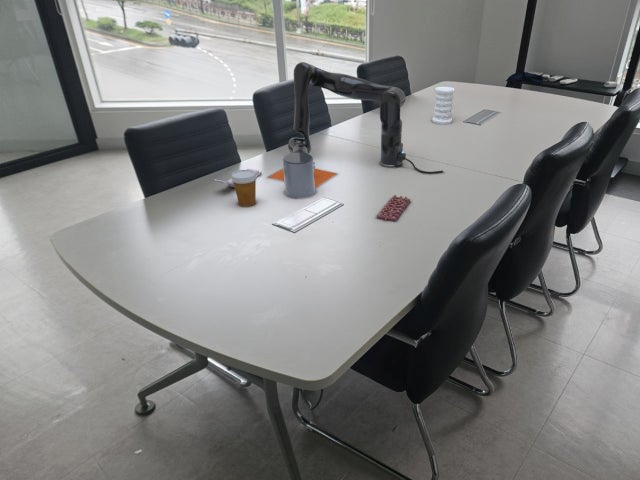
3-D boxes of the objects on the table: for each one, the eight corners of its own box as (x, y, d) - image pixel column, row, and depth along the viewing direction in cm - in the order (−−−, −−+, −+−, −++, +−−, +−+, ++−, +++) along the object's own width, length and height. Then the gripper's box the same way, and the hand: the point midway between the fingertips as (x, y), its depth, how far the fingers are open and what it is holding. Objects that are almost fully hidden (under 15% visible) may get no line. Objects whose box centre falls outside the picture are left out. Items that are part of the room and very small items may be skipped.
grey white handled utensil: (213, 179, 202) (250, 159, 221) (215, 193, 205) (251, 172, 224) (225, 182, 200) (262, 161, 219) (227, 196, 203) (263, 174, 222)
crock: (321, 190, 208) (319, 156, 200) (302, 200, 200) (300, 165, 192) (298, 183, 214) (295, 150, 205) (279, 193, 205) (275, 159, 197)
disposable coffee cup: (264, 200, 200) (260, 171, 193) (251, 209, 192) (247, 180, 186) (243, 196, 202) (239, 168, 196) (229, 206, 195) (225, 176, 188)
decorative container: (453, 124, 289) (456, 91, 279) (433, 123, 289) (435, 91, 279) (450, 118, 299) (454, 86, 289) (431, 118, 299) (433, 86, 289)
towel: (337, 174, 224) (337, 173, 224) (314, 188, 210) (314, 187, 210) (292, 164, 233) (292, 163, 233) (268, 177, 219) (268, 176, 219)
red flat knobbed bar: (376, 218, 187) (376, 214, 186) (392, 199, 202) (392, 194, 201) (394, 222, 185) (395, 217, 184) (410, 201, 200) (410, 197, 199)
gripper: (284, 150, 220) (283, 164, 206) (314, 149, 222) (316, 163, 207) (285, 166, 224) (284, 182, 210) (315, 165, 226) (316, 180, 211)
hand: (300, 172), depth 208 cm, fingers closed
